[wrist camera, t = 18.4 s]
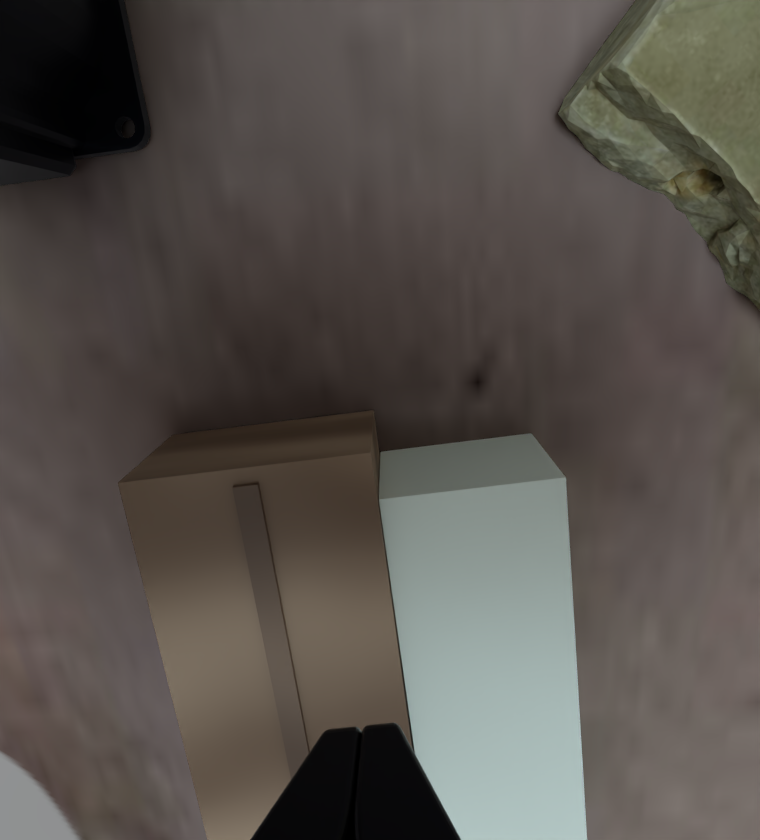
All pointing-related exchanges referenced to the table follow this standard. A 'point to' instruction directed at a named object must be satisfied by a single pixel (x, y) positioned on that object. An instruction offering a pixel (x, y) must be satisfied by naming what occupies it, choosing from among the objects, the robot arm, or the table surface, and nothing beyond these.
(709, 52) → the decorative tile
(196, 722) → the walnut plank
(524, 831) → the sage plank
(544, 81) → the table surface
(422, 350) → the table surface
